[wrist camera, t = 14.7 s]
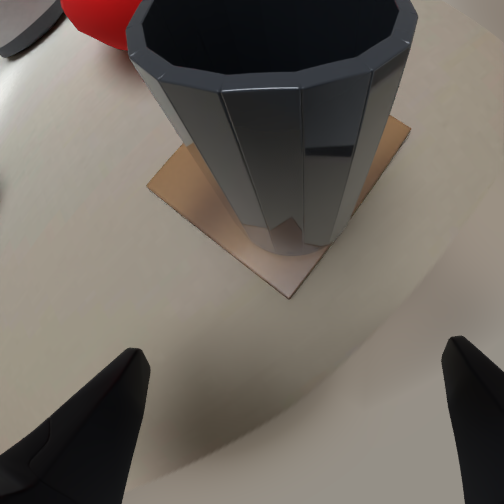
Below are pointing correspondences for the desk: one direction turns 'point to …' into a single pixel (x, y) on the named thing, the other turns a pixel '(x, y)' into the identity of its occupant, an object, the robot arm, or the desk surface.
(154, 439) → the desk surface
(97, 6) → the vase
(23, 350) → the desk surface
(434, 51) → the desk surface
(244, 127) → the pencil cup
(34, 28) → the planter
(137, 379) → the robot arm
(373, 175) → the cork pad
